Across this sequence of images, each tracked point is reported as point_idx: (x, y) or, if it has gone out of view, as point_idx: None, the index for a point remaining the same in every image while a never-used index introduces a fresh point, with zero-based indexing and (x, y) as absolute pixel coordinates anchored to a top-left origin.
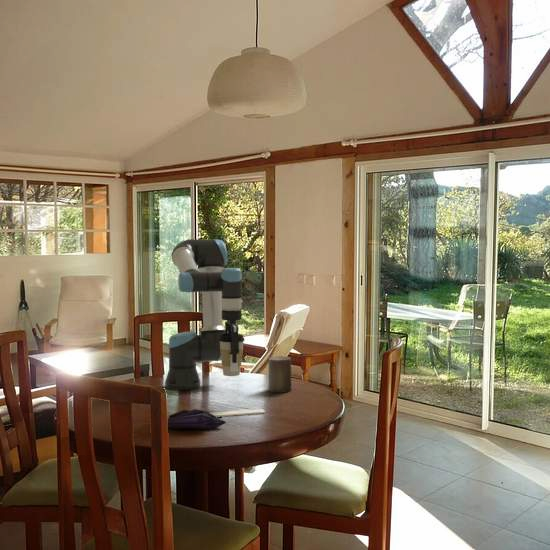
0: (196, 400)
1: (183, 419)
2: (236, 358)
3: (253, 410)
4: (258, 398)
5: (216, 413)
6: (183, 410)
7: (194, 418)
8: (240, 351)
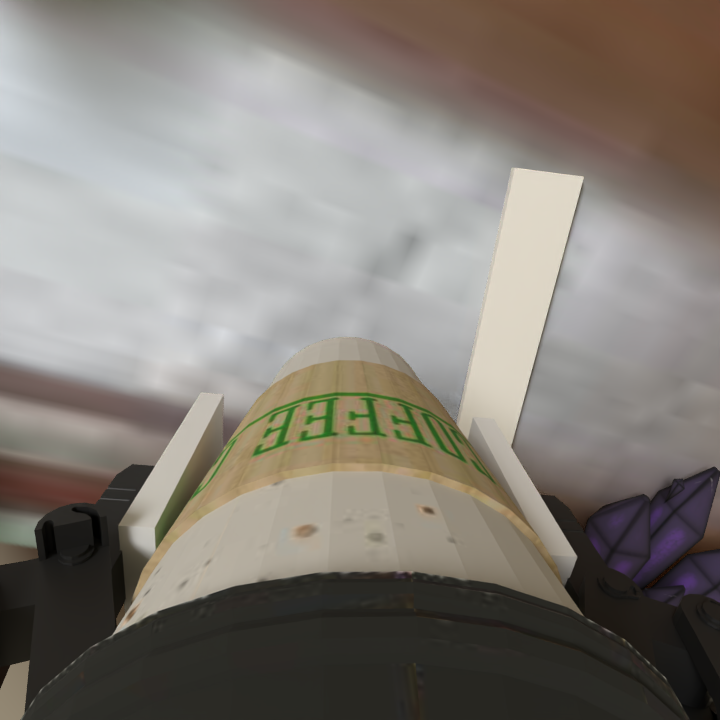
0: (142, 455)
1: None
2: (587, 539)
3: (517, 236)
4: (183, 64)
5: None
6: None
7: None
8: (523, 516)
